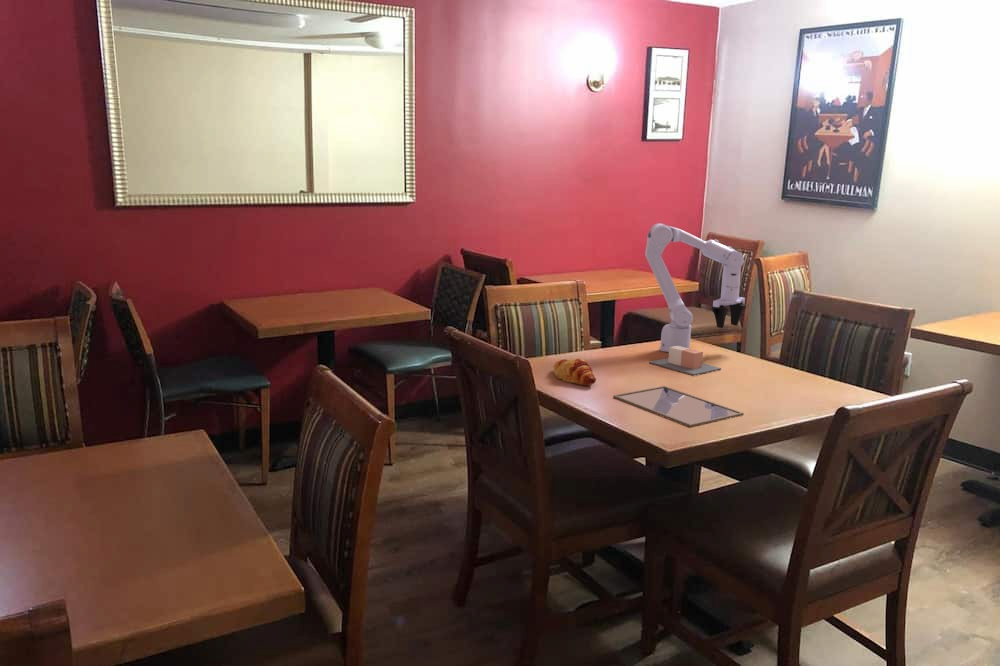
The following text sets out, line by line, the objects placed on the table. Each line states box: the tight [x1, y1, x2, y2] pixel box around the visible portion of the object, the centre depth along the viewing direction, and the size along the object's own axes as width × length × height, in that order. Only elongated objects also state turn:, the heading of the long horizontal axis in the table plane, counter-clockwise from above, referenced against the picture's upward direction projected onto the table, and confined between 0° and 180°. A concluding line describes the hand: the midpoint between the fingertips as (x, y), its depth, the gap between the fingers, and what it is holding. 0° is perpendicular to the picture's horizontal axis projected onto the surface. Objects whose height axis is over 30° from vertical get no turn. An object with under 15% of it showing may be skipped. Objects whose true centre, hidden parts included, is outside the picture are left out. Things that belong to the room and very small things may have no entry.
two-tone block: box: [668, 346, 704, 369], centre depth 244 cm, size 4×10×5 cm, turn 38°
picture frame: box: [612, 385, 744, 428], centre depth 204 cm, size 19×1×28 cm
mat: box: [648, 357, 722, 376], centre depth 245 cm, size 18×13×1 cm
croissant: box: [553, 358, 597, 386], centre depth 227 cm, size 21×10×8 cm, turn 28°
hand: (727, 326), depth 261 cm, fingers open, 7 cm apart
